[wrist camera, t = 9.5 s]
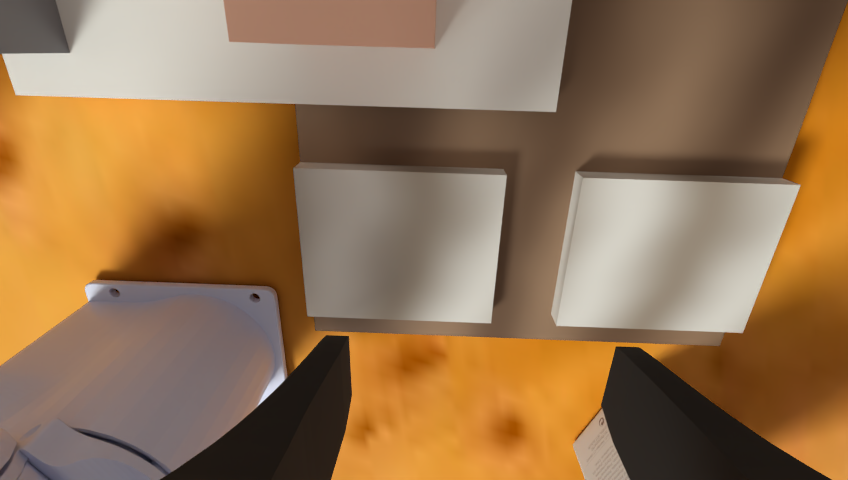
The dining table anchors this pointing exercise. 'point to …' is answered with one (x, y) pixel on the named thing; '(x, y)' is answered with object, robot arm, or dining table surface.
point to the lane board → (573, 185)
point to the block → (333, 22)
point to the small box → (599, 452)
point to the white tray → (283, 57)
